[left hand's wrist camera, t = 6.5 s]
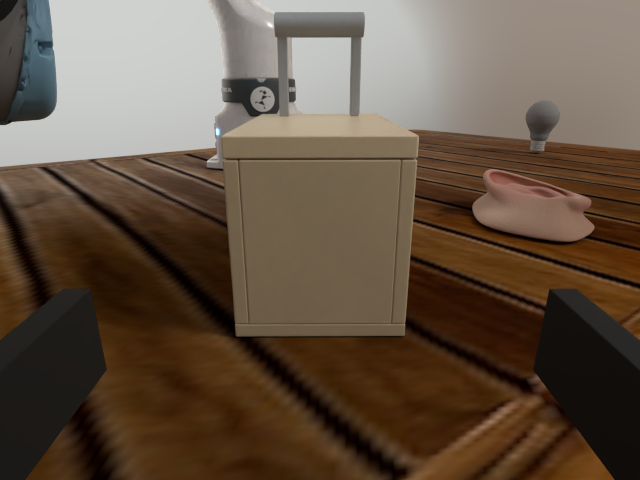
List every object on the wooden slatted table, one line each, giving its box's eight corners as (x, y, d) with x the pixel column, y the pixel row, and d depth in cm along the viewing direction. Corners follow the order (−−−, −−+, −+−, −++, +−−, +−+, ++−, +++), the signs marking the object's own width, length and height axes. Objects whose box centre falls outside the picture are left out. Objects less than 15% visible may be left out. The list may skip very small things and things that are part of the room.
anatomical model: (614, 202, 36) (469, 190, 40) (604, 247, 37) (464, 231, 42) (590, 173, 48) (479, 166, 52) (582, 208, 49) (475, 199, 53)
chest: (266, 242, 39) (261, 129, 36) (372, 242, 39) (377, 128, 36) (235, 336, 25) (222, 160, 21) (404, 336, 25) (417, 159, 21)
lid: (262, 127, 36) (257, 17, 34) (376, 127, 36) (381, 17, 34) (221, 159, 21) (206, -37, 19) (417, 158, 21) (432, -37, 19)
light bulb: (526, 154, 86) (534, 101, 83) (516, 149, 92) (524, 100, 88) (557, 154, 86) (567, 101, 82) (546, 150, 91) (555, 100, 88)
